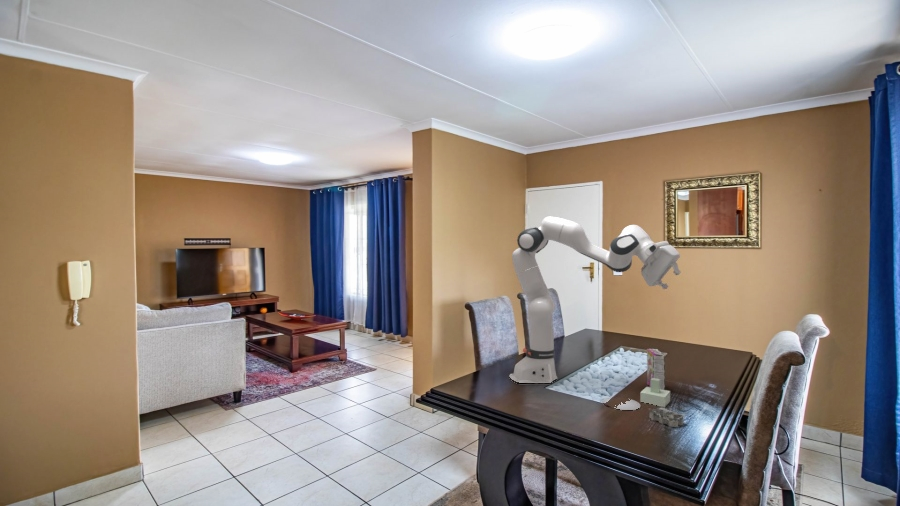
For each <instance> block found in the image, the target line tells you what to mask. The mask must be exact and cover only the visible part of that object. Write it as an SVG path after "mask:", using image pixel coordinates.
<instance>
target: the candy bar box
mask: <svg viewBox="0 0 900 506" xmlns="http://www.w3.org/2000/svg"><path fill="white" fill-rule="evenodd" d="M665 361H666V360H665V354H664V353H663V352H661V350H659V349H657V348H646V367H647V368H646V369H647V370H646V371H647V372H646V374H647V378H646V379H647V380H646V381H647V382H646V384H647V386H648V385H649V386H648V387H650V380H651V379H652V378H656V379H660V389H662V390H666V380H665V379H666V378H665V377H666V365H665Z"/></svg>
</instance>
